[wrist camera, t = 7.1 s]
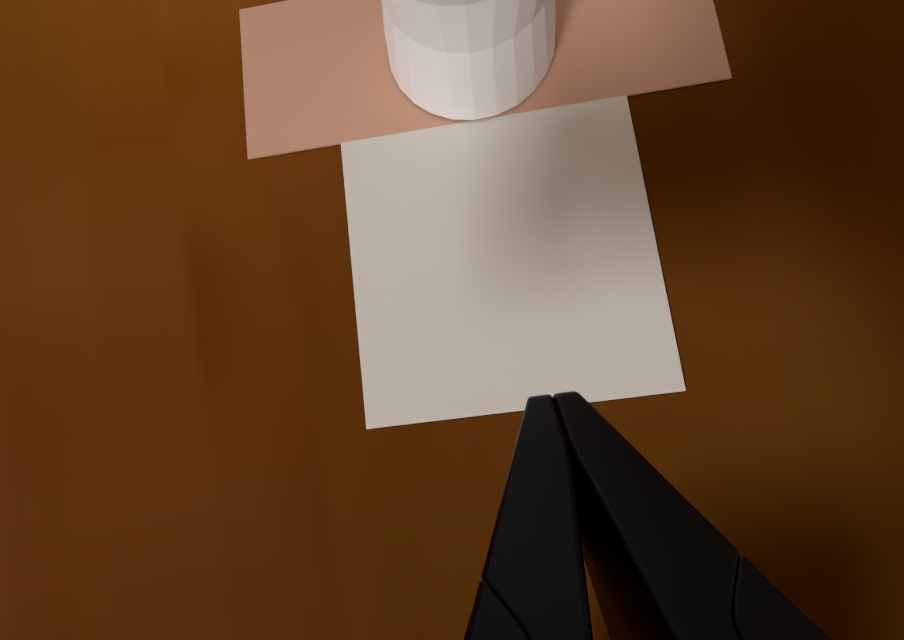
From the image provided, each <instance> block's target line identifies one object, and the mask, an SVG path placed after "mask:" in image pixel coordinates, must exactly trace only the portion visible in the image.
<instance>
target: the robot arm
mask: <svg viewBox="0 0 904 640" xmlns="http://www.w3.org/2000/svg"><path fill="white" fill-rule="evenodd" d="M583 557H584V559H583ZM584 560H585V563H586V566H587V569H588V572H589V575H590V578H591V582H592V585H593V588H594V591H595V594H596V597H597V600H598V603H599V606H600V609H601V612H602V615H603V618H604V621H605V624H606V627H607V630H608V633H609V637H610V640H832V639H831V638H830V637H829V636H828V635H826V634H825V633H824V632H823V631H822V630H821V629H820V628H818V627H817V626H816V625H815V624H814V623H813V622H812V621H810V620H809V619H808V618H807V617H806V616H805V615H804V614H803V613H802V612H801V611H800V610H799V609H798V608H797V607H796V606H795V605H794V604H792V603H791V602H790V601H789V600H788V599H787V598H786V597H785V596H784V595H783V594H782V593H781V592H780V591H779V590H778V589H777V588H776V587H775V586H773V585H772V584H771V583H770V582H769V581H768V580H767V579H766V578H765V577H764V576H763V575H762V574H761V573H760V572H759V571H758V570H757V569H756V568H755V567H754V566H753V565H752V564H751V563H750V562H749V561H748V560H747V559H746V558H745V557H744V556H740V557H739V552H738V550H737V549H736V548H735V547H734V546H733V545H732V544H731V543H730V542H729V541H728V540H727V539H726V538H725V537H724V536H723V535H722V534H721V533H720V532H719V531H718V530H717V529H716V528H715V527H714V526H713V525H712V524H711V523H710V522H709V521H708V520H707V519H706V518H705V517H704V516H703V515H702V514H701V513H700V512H699V511H698V510H696V509H695V508H694V507H693V506H692V505H691V504H690V503H689V502H688V501H687V500H686V499H685V498H684V497H683V496H682V495H681V494H680V493H679V492H678V491H677V490H676V489H675V488H674V487H673V486H672V485H671V484H670V483H669V482H668V481H667V480H666V479H665V478H664V477H663V476H662V475H661V474H660V473H659V472H658V471H657V470H656V469H655V468H654V467H653V466H652V465H651V464H650V463H649V462H648V461H647V460H646V459H645V458H644V457H643V456H642V455H641V454H640V453H639V452H638V451H637V450H636V449H635V448H634V447H633V446H632V445H631V444H630V443H629V442H628V441H627V440H626V439H625V438H624V437H623V436H622V435H621V434H620V433H619V432H618V431H617V430H616V429H615V428H614V427H613V426H612V425H611V424H610V423H609V422H608V421H607V420H606V419H605V418H604V417H603V416H602V415H601V414H600V413H599V412H598V411H597V410H596V409H595V408H594V407H593V406H592V405H591V404H590V403H589V402H588V401H587V400H586V399H585V398H583V397H582V396H581V395H580V394H579V393H578V392H576V391H570V392H562V393H556V394H554V395H553V397H552V396H551V395H550V394H545V395H537V396H530V397H529V398H528V399H527V403H526V406H525V410H524V414H523V418H522V422H521V426H520V430H519V433H518V437H517V441H516V445H515V449H514V453H513V457H512V460H511V464H510V468H509V472H508V476H507V480H506V484H505V487H504V491H503V495H502V499H501V503H500V507H499V510H498V514H497V518H496V522H495V526H494V530H493V534H492V537H491V541H490V545H489V549H488V553H487V557H486V561H485V564H484V568H483V572H482V581H480V583H479V586H478V590H477V594H476V598H475V602H474V605H473V609H472V613H471V616H470V619H469V623H468V626H467V630H466V633H465V636H464V640H593V635H592V627H591V618H590V610H589V601H588V593H587V585H586V576H585V568H584Z"/></svg>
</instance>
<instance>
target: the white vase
mask: <svg viewBox="0 0 904 640" xmlns="http://www.w3.org/2000/svg"><path fill="white" fill-rule="evenodd" d="M381 3H382V14H383V24H384V33H385V39H386V45H387V51H388V57H389V62H390V68H391V72H392V74H393V76H394V78H395V80H396V82H397V84H398V86H399V88H400V89H401V90H402V91H403V92H404V93H405V94H406V96H407V97H408V98H409V99H410V100H411V101H412V102H413V103H414V104H416V105H418V106H419V107H421V108H423V109H424V110H426V111H428V112H430V113H431V114H435V115H438V116H442V117H445V118H449V119H453V120H477V119H482V118H486V117H491V116H495V115H498V114H500V113H502V112H504V111H506V110H508V109H511V108H513V107H515V106H517V105H518V104H519V103H521V102H522V101H523V100H524V99H525V98H526V97H528V96H529V95H530V94H531V93H532V92H534V91H535V89H536V88H537V87H538V85H539V84H540V82H541V81H542V79H543V78H544V77H545V75H546V74H547V72H548V69H549V66H550V63H551V61H552V58H553V55H554V47H555V22H556V8H555V0H381Z"/></svg>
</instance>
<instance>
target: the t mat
mask: <svg viewBox="0 0 904 640" xmlns="http://www.w3.org/2000/svg"><path fill="white" fill-rule="evenodd" d="M555 8H556V22H555V47H554V55H553V58H552V61H551V63H550V66H549V69H548V72H547V74H546V75H545V77H544V78H543V79H542V81H541V82H540V84H539V85H538V87H537V88H536V89H535V91H534V92H532V93H531V94H530V95H529V96H528V97H526V98H525V99H524V100H523V101H522V102H521V103H519V104H518V105H517V106H515V107H513V108H511V109H508V110H506V111H504V112H502V113H500V114H498V115H495V116H491V117H486V118H482V119H477V120H453V119H449V118H445V117H442V116H438V115H435V114H431V113H430V112H428V111H426V110H424V109H423V108H421V107H419V106H418V105H416V104H414V103H413V102H412V101H411V100H410V99H409V98H408V97H407V96H406V94H405V93H404V92H403V91H402V90H401V89H400V88H399V86H398V84H397V82H396V80H395V78H394V76H393V74H392V72H391V68H390V62H389V57H388V51H387V45H386V39H385V33H384V24H383V14H382V3H381V0H287V1H282V2H277V3H272V4H266V5H261V6H256V7H251V8H246V9H240V28H241V46H242V64H243V83H244V101H245V119H246V138H247V156H248V159H255V158H261V157H267V156H273V155H279V154H285V153H291V152H297V151H303V150H309V149H315V148H321V147H327V146H333V145H339V144H341V151H342V162H343V174H344V185H345V196H346V207H347V218H348V229H349V240H350V251H351V262H352V274H353V285H354V296H355V307H356V318H357V329H358V340H359V351H360V363H361V374H362V385H363V396H364V407H365V418H366V429H371V428H380V427H388V426H396V425H405V424H413V423H421V422H430V421H438V420H446V419H455V418H463V417H471V416H480V415H488V414H496V413H505V412H513V411H521V410H525V406H526V403H527V399H528V398H529V397H530V396H537V395H545V394H550V395H551V396H552V397H553V395H554V394H556V393H562V392H570V391H576V392H578V393H579V394H580V395H581V396H582V397H583V398H585V399H586V400H587V401H588V402H596V401H605V400H613V399H621V398H630V397H638V396H646V395H655V394H663V393H671V392H680V391H686V389H685V384H684V379H683V374H682V369H681V364H680V359H679V354H678V349H677V344H676V339H675V334H674V329H673V324H672V319H671V314H670V309H669V304H668V299H667V294H666V289H665V284H664V279H663V274H662V269H661V264H660V259H659V254H658V249H657V244H656V239H655V234H654V229H653V224H652V219H651V214H650V209H649V204H648V199H647V194H646V189H645V184H644V179H643V174H642V169H641V164H640V159H639V154H638V149H637V144H636V139H635V134H634V129H633V125H632V120H631V115H630V110H629V105H628V100H627V96H632V95H638V94H644V93H650V92H656V91H662V90H668V89H674V88H680V87H686V86H692V85H698V84H704V83H710V82H716V81H722V80H728V79H731V78H732V76H731V72H730V68H729V64H728V59H727V55H726V51H725V47H724V43H723V39H722V35H721V31H720V26H719V22H718V18H717V14H716V10H715V6H714V2H713V0H555Z"/></svg>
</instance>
